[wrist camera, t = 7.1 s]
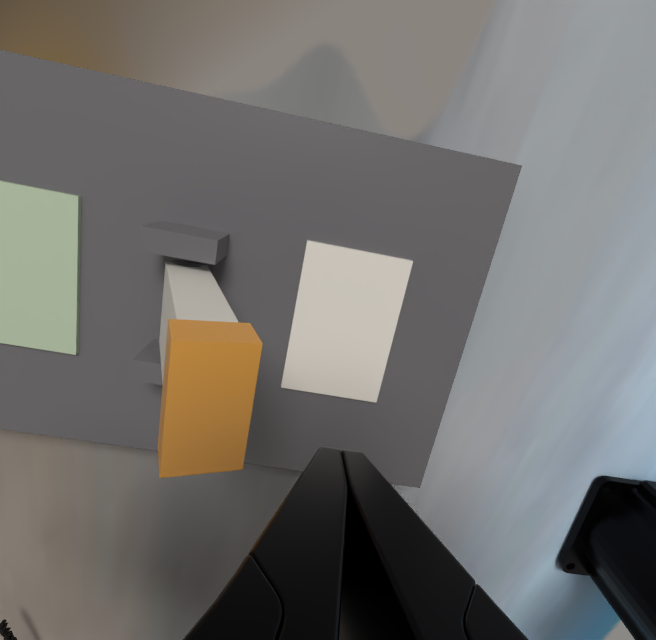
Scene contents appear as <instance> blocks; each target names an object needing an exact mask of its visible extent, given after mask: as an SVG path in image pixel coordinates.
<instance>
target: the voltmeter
mask: <svg viewBox="0 0 656 640" xmlns="http://www.w3.org/2000/svg"><path fill="white" fill-rule="evenodd" d="M5 622H6V620H3V621H2V622H1V623H0V634H1V635H2V636H3V637H4V640H17V639H16V637H14V636H13V633H12V631H9V630H10V628H6V627H7V624H8V623H5Z"/></svg>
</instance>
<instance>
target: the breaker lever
mask: <svg viewBox="0 0 656 640" xmlns="http://www.w3.org/2000/svg"><path fill="white" fill-rule="evenodd" d="M159 345H160V358H161V371H162V383H163V387H162V399H161V411H160V423H159V435H158V462H159V478H165V477H175V476H185V475H195V474H205V473H215V472H225V471H234V470H243V464H244V457H245V451H246V445H247V439H248V432H249V426H250V420H251V414H252V407H253V401H254V395H255V388H256V382H257V376H258V370H259V363H260V357H261V351H262V345H263V343H262V341H261V340H260V338H259V337H258V335H257V333H256V332H255V330H254V328H253V327H252V325H251V324H250V323H239V322H238V320H237V318H236V316H235V315H234V313H233V311H232V309H231V307H230V306H229V304H228V302H227V300H226V298H225V297H224V295H223V293H222V291H221V289H220V287H219V286H218V284H217V282H216V280H215V278H214V277H213V275H212V273H211V271H210V269H209V268H208V266H206V265H201V264H199V263H197V262H193V261H187V260H173V261H172V262H168V261H166V262H165V275H164V287H163V300H162V313H161V325H160V338H159Z"/></svg>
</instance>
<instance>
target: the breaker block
mask: <svg viewBox="0 0 656 640" xmlns="http://www.w3.org/2000/svg"><path fill="white" fill-rule="evenodd" d="M521 167H522V166H521V165H516V164H512V163H507V162H503V161H498V160H494V159H489V158H485V157H480V156H476V155H471V154H467V153H462V152H458V151H453V150H449V149H444V148H440V147H435V146H431V145H426V144H422V143H417V142H413V141H408V140H404V139H399V138H395V137H390V136H386V135H381V134H377V133H372V132H368V131H363V130H359V129H354V128H350V127H345V126H341V125H336V124H332V123H327V122H323V121H318V120H314V119H309V118H305V117H300V116H296V115H291V114H287V113H282V112H278V111H273V110H269V109H264V108H260V107H255V106H251V105H246V104H242V103H237V102H233V101H228V100H224V99H219V98H215V97H210V96H206V95H201V94H197V93H192V92H188V91H183V90H179V89H174V88H169V87H165V86H161V85H156V84H152V83H147V82H143V81H138V80H134V79H128V78H124V77H120V76H116V75H111V74H107V73H102V72H98V71H93V70H89V69H84V68H80V67H75V66H70V65H66V64H61V63H57V62H53V61H48V60H43V59H39V58H35V57H30V56H26V55H21V54H17V53H12V52H7V51H3V50H0V429H4V430H11V431H18V432H26V433H33V434H40V435H47V436H54V437H61V438H68V439H76V440H83V441H90V442H97V443H104V444H111V445H118V446H125V447H133V448H140V449H147V450H154V451H158V435H159V423H160V411H161V399H162V387H163V383H162V371H161V358H160V345H159V338H160V325H161V313H162V300H163V287H164V275H165V262H166V261H168V262H172V261H173V260H187V261H193V262H197V263H199V264H201V265H206V266H208V268H209V269H210V271H211V273H212V275H213V277H214V278H215V280H216V282H217V284H218V286H219V287H220V289H221V291H222V293H223V295H224V297H225V298H226V300H227V302H228V304H229V306H230V307H231V309H232V311H233V313H234V315H235V316H236V318H237V320H238V322H239V323H250V324H251V325H252V327H253V328H254V330H255V332H256V333H257V335H258V337H259V338H260V340H261V341H262V343H263V345H262V351H261V357H260V363H259V370H258V376H257V382H256V388H255V395H254V401H253V407H252V414H251V420H250V426H249V432H248V439H247V445H246V451H245V457H244V463H247V464H254V465H261V466H268V467H275V468H282V469H290V470H297V471H304V470H305V468H306V467H307V465H308V464H309V462H310V461H311V459H312V458H313V456H314V455H315V453H316V452H317V450H318V449H319V448H320V447H321V446H325V447H332V448H338V449H340V450H341V451H342V450H352V451H359V452H362V453H363V454H364V455H365V456H366V457H367V458H368V459H369V460H370V462H371V463H372V464H373V465H374V466H375V467H376V468H377V470H378V471H379V472H380V473H381V474H382V475H383V476H384V478H385V479H386V480H387V481H388V482H389V483H390V484H397V485H404V486H411V487H418V488H420V485H421V482H422V479H423V476H424V473H425V469H426V466H427V463H428V460H429V457H430V454H431V451H432V447H433V444H434V441H435V438H436V435H437V432H438V428H439V425H440V422H441V419H442V416H443V413H444V410H445V406H446V403H447V400H448V397H449V394H450V391H451V388H452V384H453V381H454V378H455V375H456V372H457V369H458V365H459V362H460V359H461V356H462V353H463V350H464V347H465V343H466V340H467V337H468V334H469V331H470V328H471V325H472V321H473V318H474V315H475V312H476V309H477V306H478V302H479V299H480V296H481V293H482V290H483V287H484V284H485V280H486V277H487V274H488V271H489V268H490V265H491V262H492V258H493V255H494V252H495V249H496V246H497V243H498V239H499V236H500V233H501V230H502V227H503V224H504V221H505V217H506V214H507V211H508V208H509V205H510V202H511V199H512V195H513V192H514V189H515V186H516V183H517V180H518V176H519V173H520V170H521Z"/></svg>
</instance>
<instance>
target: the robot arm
mask: <svg viewBox="0 0 656 640" xmlns="http://www.w3.org/2000/svg"><path fill="white" fill-rule="evenodd" d="M558 563H559V565H560V567H561V568H562V570H563V571H564V572H566V573H572V574H580V575H588V576H590V577H591V578H592V580H593V581H594V583H595V584H596V585H597V587H598V588H599V590H600V591H601V592H602V594H603V595H604V597H605V598H606V599H607V601H608V602H609V604H610V605H611V607H612V608H613V609H614V611H615V612H616V614H617V615H618V616H619V618H620V619H621V621H622V622H623V623H624V625H625V626H626V628H627V629H628V630H629V632H630V633H631V635H632V636H633V637H634V639H635V640H656V482H653V481H637V480H630V479H623V478H616V477H610V476H602V477H600V478H598V479H597V480H596V482H595V483H594V485H593V488H592V490H591V492H590V494H589V496H588V498H587V500H586V502H585V505H584V507H583V509H582V511H581V513H580V515H579V517H578V520H577V522H576V524H575V526H574V528H573V530H572V532H571V534H570V537H569V539H568V541H567V543H566V545H565V547H564V549H563V551H562V554H561V556H560V558H559V561H558ZM183 640H528V639H527V637H526V636H525V635H524V634H523V633H522V632H521V631H520V630H519V629H518V628H517V627H516V626H515V624H514V623H513V622H512V621H511V620H510V619H509V618H508V617H507V616H506V615H505V614H504V612H503V611H502V610H501V609H500V608H499V607H498V606H497V605H496V604H495V603H494V601H493V600H492V599H491V598H490V597H489V596H488V595H487V593H486V592H485V591H484V590H483V589H482V588H481V587H480V586H479V585H478V584H476V585H475V580H474V579H473V578H472V577H471V575H470V574H469V573H468V572H467V571H466V570H465V569H464V567H463V566H462V565H461V564H460V563H459V562H458V561H457V560H456V558H455V557H454V556H453V555H452V554H451V553H450V552H449V550H448V549H447V548H446V547H445V546H444V545H443V544H442V542H441V541H440V540H439V539H438V538H437V537H436V536H435V534H434V533H433V532H432V531H431V530H430V529H429V528H428V526H427V525H426V524H425V523H424V522H423V521H422V520H421V519H420V517H419V516H418V515H417V514H416V513H415V512H414V511H413V509H412V508H411V507H410V506H409V505H408V504H407V503H406V501H405V500H404V499H403V498H402V497H401V496H400V495H399V493H398V492H397V491H396V490H395V489H394V488H393V487H392V485H391V484H390V483H389V482H388V481H387V480H386V479H385V478H384V476H383V475H382V474H381V473H380V472H379V471H378V470H377V468H376V467H375V466H374V465H373V464H372V463H371V462H370V460H369V459H368V458H367V457H366V456H365V455H364V454H363V453H362V452H359V451H352V450H342V451H341V450H340V449H338V448H332V447H325V446H321V447H320V448H319V449H318V450H317V452H316V453H315V455H314V456H313V458H312V459H311V461H310V462H309V464H308V465H307V467H306V468H305V470H304V471H303V473H302V474H301V476H300V477H299V479H298V480H297V482H296V483H295V485H294V486H293V488H292V489H291V491H290V492H289V494H288V495H287V497H286V498H285V500H284V501H283V503H282V504H281V506H280V507H279V509H278V510H277V512H276V513H275V515H274V516H273V518H272V519H271V521H270V522H269V524H268V525H267V527H266V528H265V530H264V531H263V533H262V534H261V536H260V537H259V539H258V540H257V542H256V543H255V545H254V546H253V548H252V549H251V551H250V552H249V555H248V556H247V557H246V558H245V559H244V561H243V562H242V564H241V565H240V567H239V568H238V570H237V571H236V573H235V574H234V576H233V577H232V578H231V580H230V581H229V582H228V584H227V585H226V587H225V588H224V589H223V591H222V592H221V593H220V595H219V596H218V598H217V599H216V600H215V602H214V603H213V604H212V605H211V607H210V608H209V609H208V610H207V611H206V613H205V614H204V615H203V616H202V617H201V619H200V620H199V621H198V622H197V623H196V625H195V626H194V627H193V628H192V629H191V631H190V632H189V633H188V634H187V635H186V636H185V638H184V639H183Z"/></svg>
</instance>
